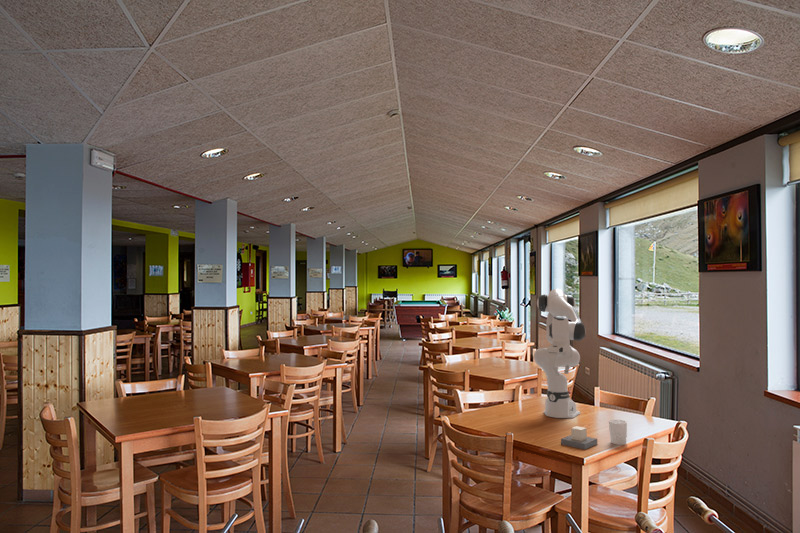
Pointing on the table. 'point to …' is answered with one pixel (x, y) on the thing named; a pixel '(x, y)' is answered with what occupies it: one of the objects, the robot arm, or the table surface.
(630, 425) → the table surface
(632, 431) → the table surface
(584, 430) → the cube
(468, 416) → the table surface
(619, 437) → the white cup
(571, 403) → the robot arm
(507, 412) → the table surface
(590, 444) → the base
